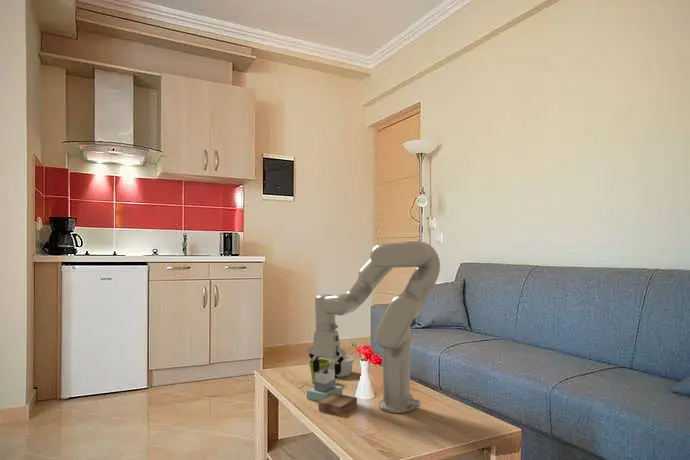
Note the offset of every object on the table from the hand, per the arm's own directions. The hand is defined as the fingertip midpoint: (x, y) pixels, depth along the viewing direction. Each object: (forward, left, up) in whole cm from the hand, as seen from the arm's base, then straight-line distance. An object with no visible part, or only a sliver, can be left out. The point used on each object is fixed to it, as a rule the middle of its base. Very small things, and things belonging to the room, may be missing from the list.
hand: (327, 372), depth 175 cm
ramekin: (+13, -29, -9) cm, 33 cm away
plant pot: (+13, -14, -9) cm, 21 cm away
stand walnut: (-10, +8, -9) cm, 16 cm away
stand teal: (+1, 0, -9) cm, 9 cm away
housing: (+1, 0, -6) cm, 6 cm away
